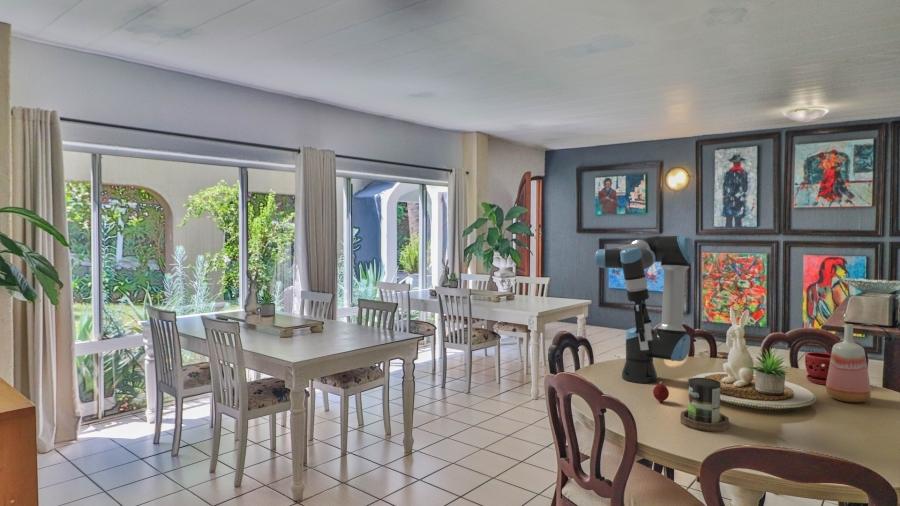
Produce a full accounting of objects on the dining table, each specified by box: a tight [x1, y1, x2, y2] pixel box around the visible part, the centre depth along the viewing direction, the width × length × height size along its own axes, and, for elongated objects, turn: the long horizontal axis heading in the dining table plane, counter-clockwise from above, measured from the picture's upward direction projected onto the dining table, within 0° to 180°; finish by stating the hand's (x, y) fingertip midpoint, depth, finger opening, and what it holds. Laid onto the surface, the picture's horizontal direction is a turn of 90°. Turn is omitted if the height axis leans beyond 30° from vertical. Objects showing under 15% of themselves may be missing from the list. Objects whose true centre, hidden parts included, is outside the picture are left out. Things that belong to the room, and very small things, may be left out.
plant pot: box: [804, 351, 831, 386], centre depth 243 cm, size 13×13×12 cm
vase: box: [825, 323, 872, 404], centre depth 219 cm, size 14×14×30 cm
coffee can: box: [687, 377, 722, 423], centre depth 195 cm, size 10×10×14 cm
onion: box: [652, 381, 670, 403], centre depth 219 cm, size 6×6×8 cm
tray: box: [680, 409, 730, 433], centre depth 196 cm, size 15×15×3 cm
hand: (646, 344), depth 209 cm, fingers open, 13 cm apart
